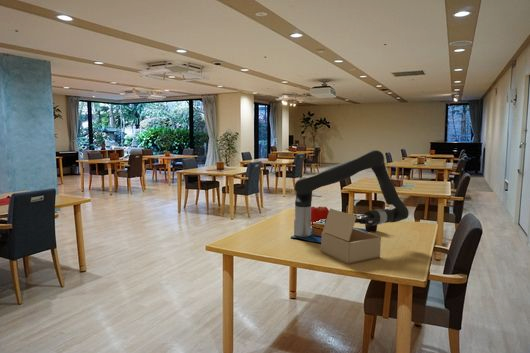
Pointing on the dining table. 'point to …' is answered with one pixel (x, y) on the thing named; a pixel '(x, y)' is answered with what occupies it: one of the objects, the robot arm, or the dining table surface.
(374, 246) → the carton
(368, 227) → the coffee mug
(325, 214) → the tomato
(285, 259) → the dining table surface
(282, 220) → the dining table surface
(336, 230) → the carton flap
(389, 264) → the dining table surface
